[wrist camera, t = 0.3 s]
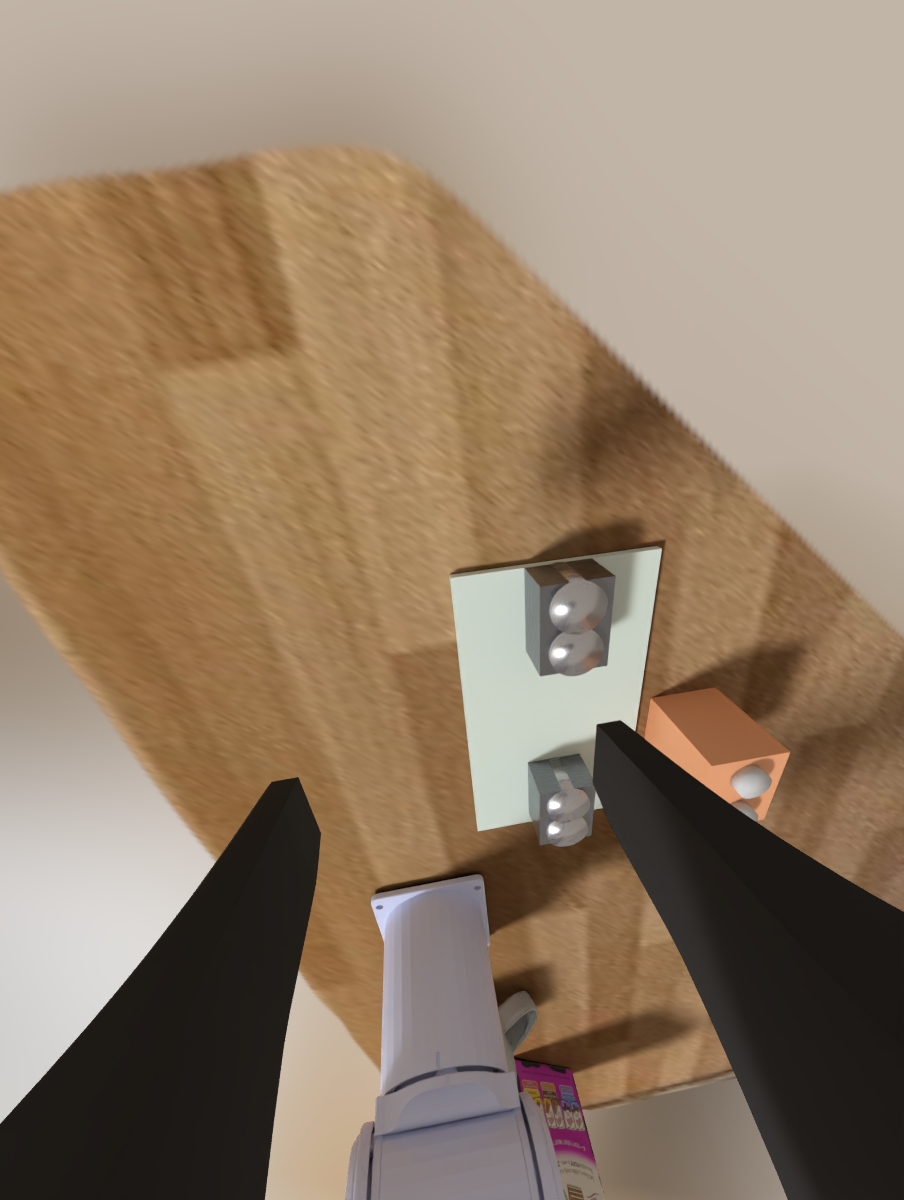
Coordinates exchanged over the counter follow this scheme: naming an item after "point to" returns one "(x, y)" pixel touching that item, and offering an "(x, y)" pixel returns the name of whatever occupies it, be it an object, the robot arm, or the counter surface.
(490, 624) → the mat
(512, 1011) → the ceramic mug
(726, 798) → the orange block with knobs
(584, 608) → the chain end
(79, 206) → the counter surface
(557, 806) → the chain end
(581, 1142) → the candy bar box
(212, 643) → the counter surface
